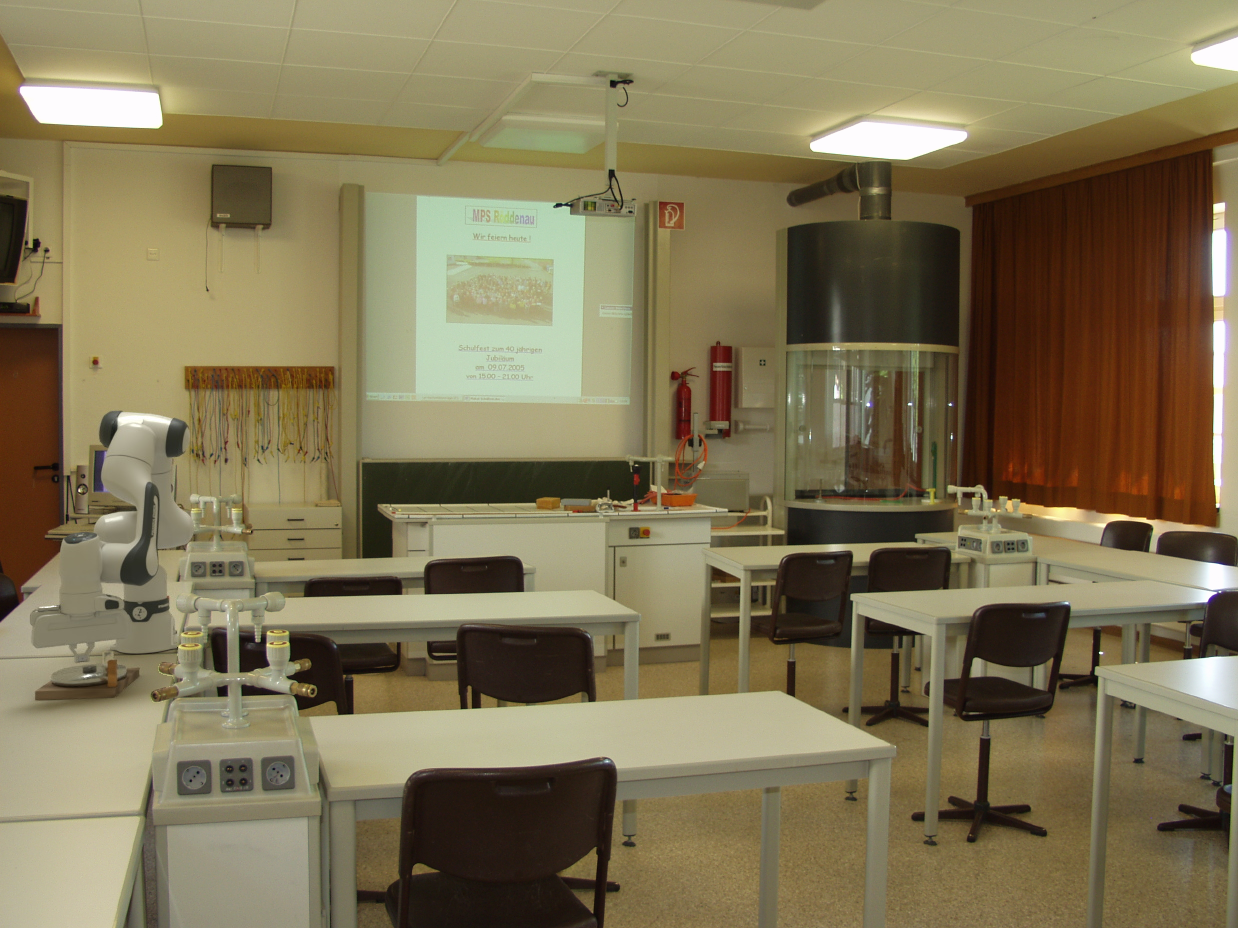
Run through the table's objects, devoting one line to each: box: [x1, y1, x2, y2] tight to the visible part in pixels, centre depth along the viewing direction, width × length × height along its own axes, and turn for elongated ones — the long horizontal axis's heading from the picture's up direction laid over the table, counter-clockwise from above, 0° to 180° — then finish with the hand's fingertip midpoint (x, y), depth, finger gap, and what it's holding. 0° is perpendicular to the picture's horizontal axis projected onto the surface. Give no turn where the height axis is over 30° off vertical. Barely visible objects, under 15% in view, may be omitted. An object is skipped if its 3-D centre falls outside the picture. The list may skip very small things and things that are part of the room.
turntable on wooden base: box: [34, 659, 141, 701], centre depth 243 cm, size 20×17×8 cm
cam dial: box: [51, 649, 128, 687], centre depth 243 cm, size 16×16×7 cm
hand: (81, 661), depth 235 cm, fingers closed
